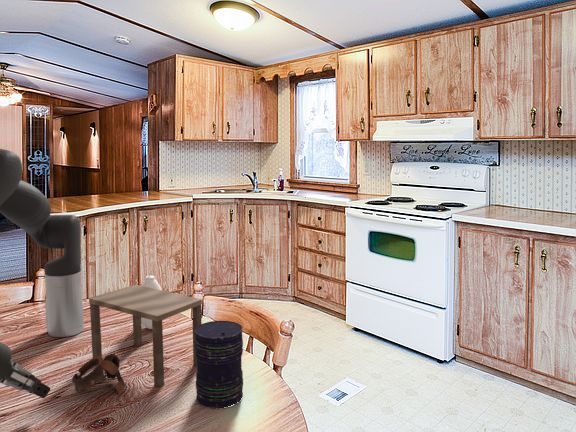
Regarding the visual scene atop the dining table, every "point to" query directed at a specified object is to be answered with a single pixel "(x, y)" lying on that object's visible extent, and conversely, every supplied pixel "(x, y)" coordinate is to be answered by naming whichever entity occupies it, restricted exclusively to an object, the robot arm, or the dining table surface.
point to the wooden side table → (146, 306)
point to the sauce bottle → (153, 284)
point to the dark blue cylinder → (219, 364)
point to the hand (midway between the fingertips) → (45, 392)
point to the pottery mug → (99, 373)
